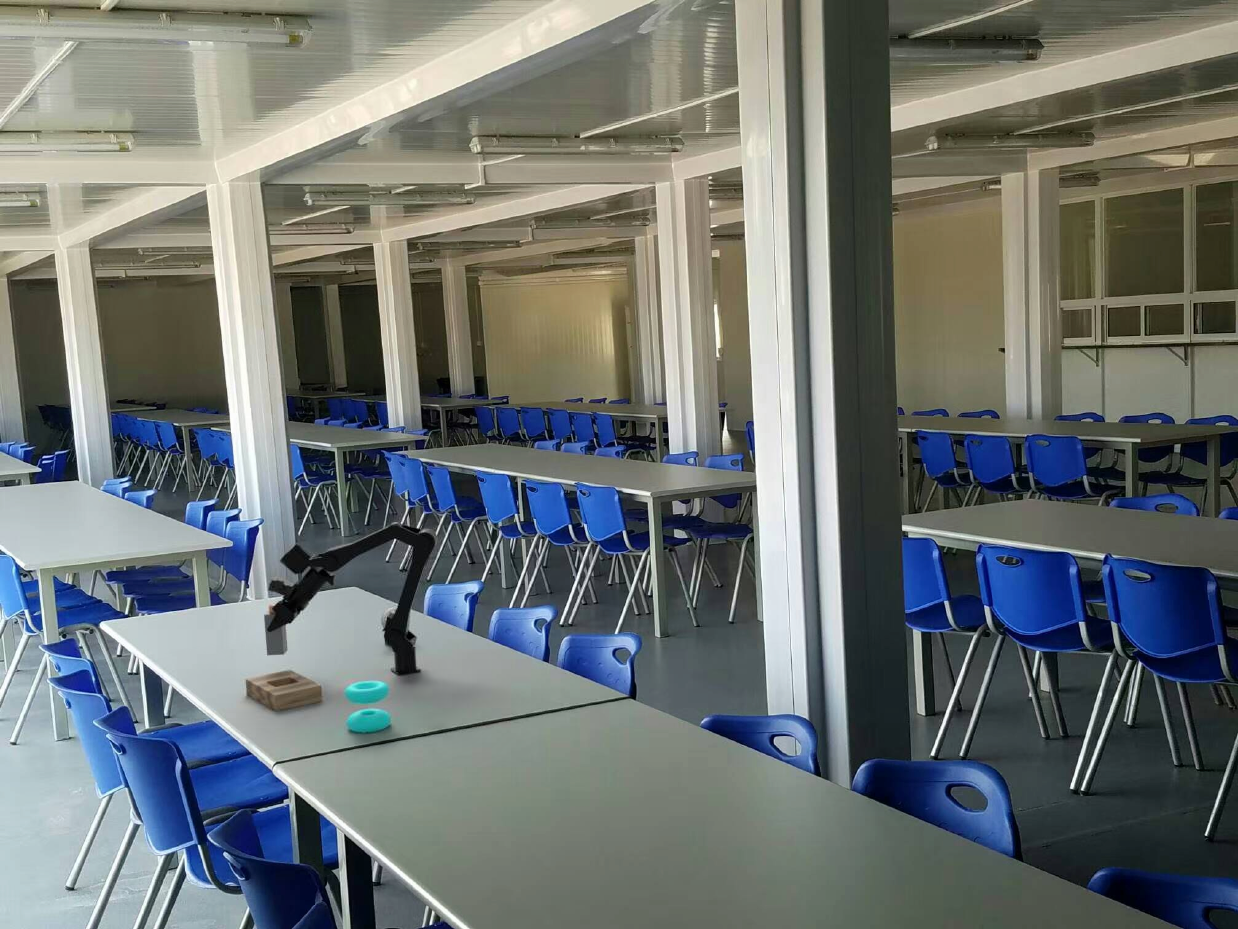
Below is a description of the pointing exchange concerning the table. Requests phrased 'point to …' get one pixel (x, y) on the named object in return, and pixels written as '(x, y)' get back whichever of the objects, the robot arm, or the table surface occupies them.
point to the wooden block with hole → (283, 690)
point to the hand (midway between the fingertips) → (270, 629)
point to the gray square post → (275, 636)
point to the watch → (385, 618)
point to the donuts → (369, 717)
